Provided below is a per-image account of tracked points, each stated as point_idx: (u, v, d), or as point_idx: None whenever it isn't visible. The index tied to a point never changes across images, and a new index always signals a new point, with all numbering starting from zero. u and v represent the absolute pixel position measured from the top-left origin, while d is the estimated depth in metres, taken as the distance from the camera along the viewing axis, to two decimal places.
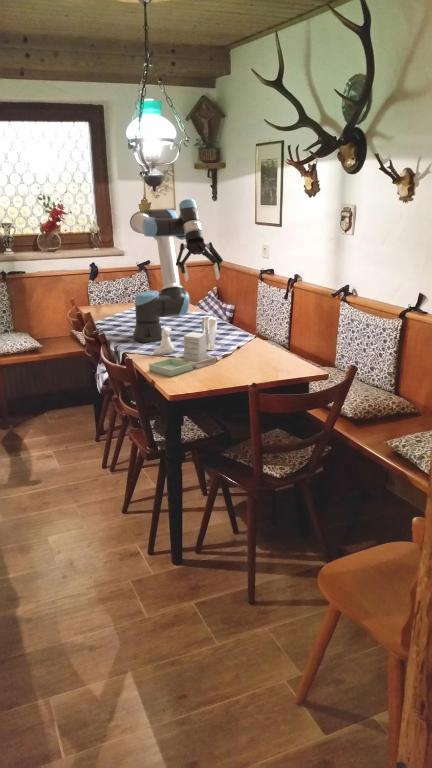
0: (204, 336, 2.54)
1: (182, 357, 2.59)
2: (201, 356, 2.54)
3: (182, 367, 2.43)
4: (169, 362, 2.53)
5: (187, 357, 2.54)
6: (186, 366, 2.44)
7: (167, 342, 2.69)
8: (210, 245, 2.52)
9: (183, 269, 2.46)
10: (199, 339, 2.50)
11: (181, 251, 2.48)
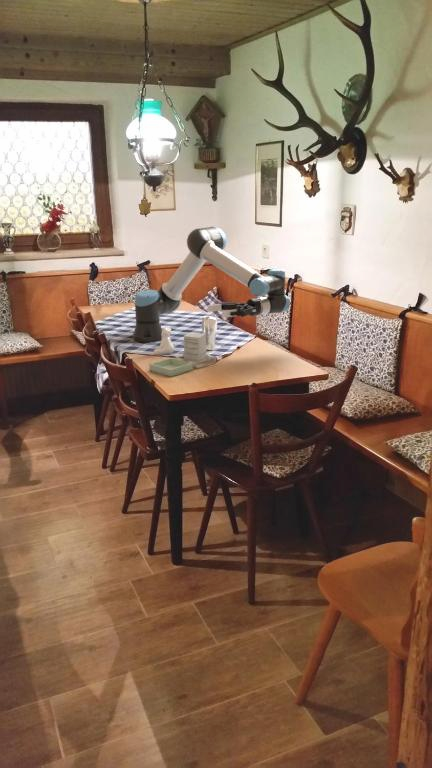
0: (204, 336, 2.54)
1: (182, 357, 2.59)
2: (201, 356, 2.54)
3: (182, 367, 2.43)
4: (169, 362, 2.53)
5: (187, 357, 2.54)
6: (186, 366, 2.44)
7: (167, 342, 2.69)
8: (238, 308, 2.67)
9: None
10: (199, 339, 2.50)
11: None
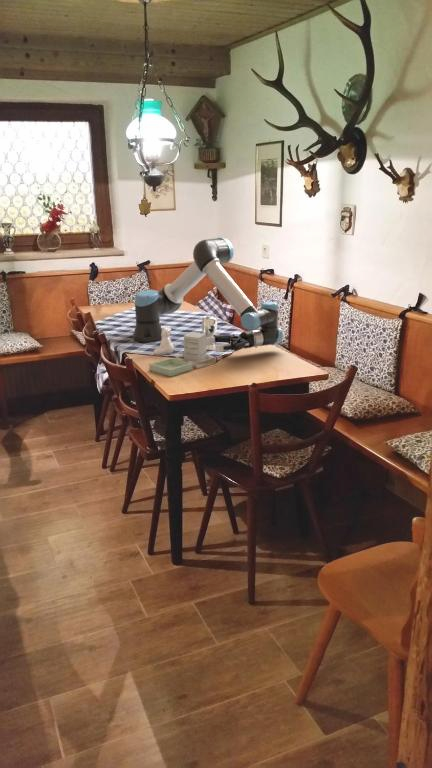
0: (204, 336, 2.54)
1: (182, 357, 2.59)
2: (201, 356, 2.54)
3: (182, 367, 2.43)
4: (169, 362, 2.53)
5: (187, 357, 2.54)
6: (186, 366, 2.44)
7: (167, 342, 2.69)
8: None
9: None
10: (199, 339, 2.50)
11: None
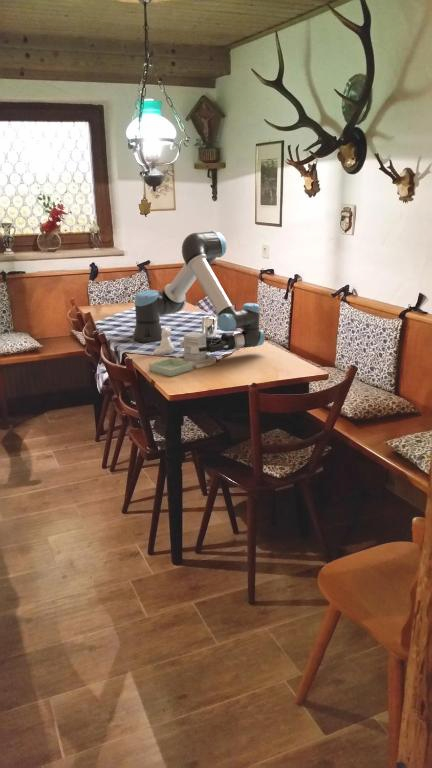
0: (204, 336, 2.54)
1: (182, 357, 2.59)
2: (201, 356, 2.54)
3: (182, 367, 2.43)
4: (169, 362, 2.53)
5: (187, 357, 2.54)
6: (186, 366, 2.44)
7: (167, 342, 2.69)
8: None
9: None
10: (199, 339, 2.50)
11: None
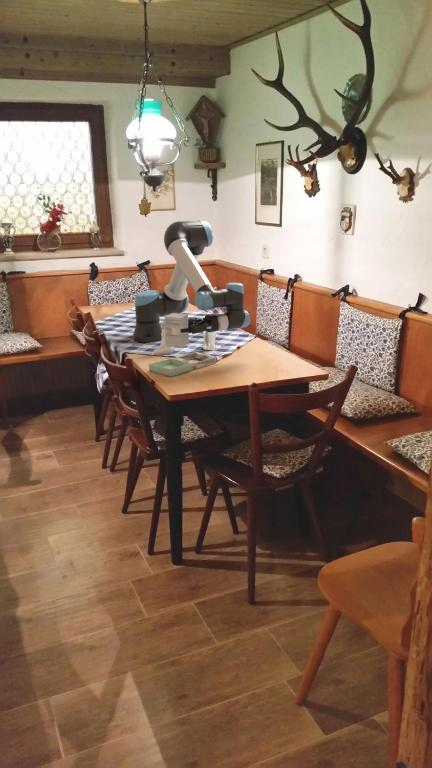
0: (186, 317, 2.42)
1: (182, 357, 2.59)
2: (183, 338, 2.42)
3: (182, 367, 2.43)
4: (169, 362, 2.53)
5: (168, 339, 2.42)
6: (186, 366, 2.44)
7: None
8: (194, 324, 2.53)
9: None
10: (181, 319, 2.38)
11: None
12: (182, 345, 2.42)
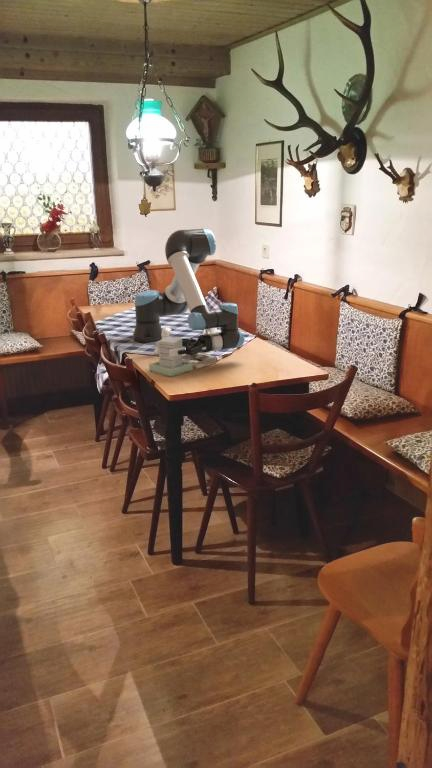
0: (180, 341, 2.43)
1: None
2: (177, 362, 2.43)
3: (182, 367, 2.43)
4: None
5: (162, 363, 2.44)
6: (186, 366, 2.44)
7: None
8: None
9: None
10: (174, 344, 2.39)
11: None
12: None
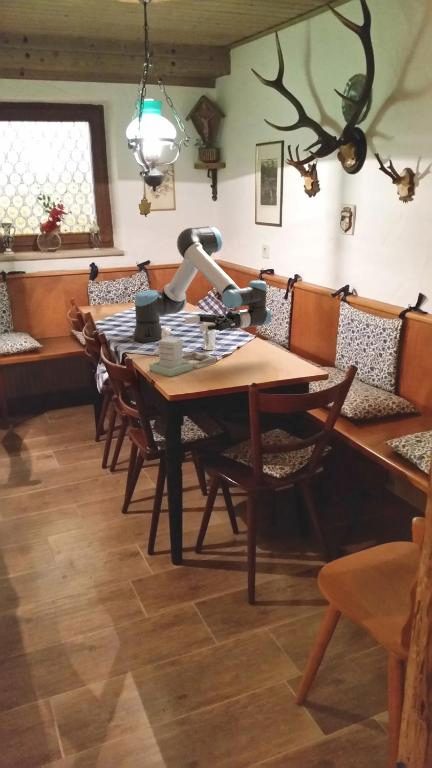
0: (180, 341, 2.43)
1: None
2: (177, 362, 2.43)
3: (182, 367, 2.43)
4: None
5: (162, 363, 2.44)
6: (186, 366, 2.44)
7: None
8: None
9: None
10: (174, 344, 2.39)
11: None
12: None
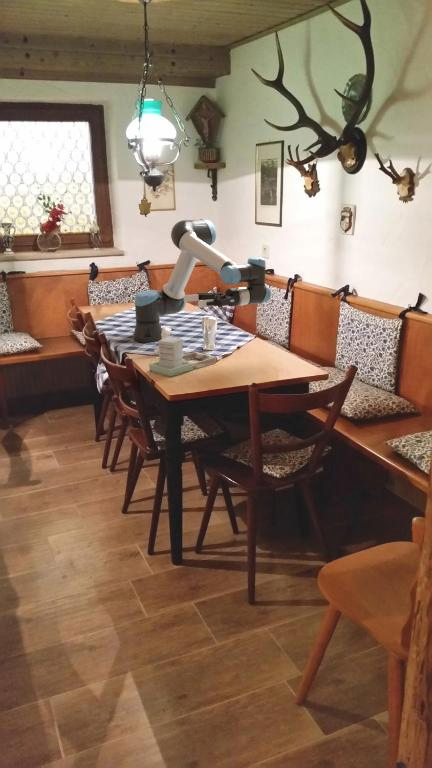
0: (180, 341, 2.43)
1: None
2: (177, 362, 2.43)
3: (182, 367, 2.43)
4: None
5: (162, 363, 2.44)
6: (186, 366, 2.44)
7: None
8: None
9: None
10: (174, 344, 2.39)
11: None
12: None
